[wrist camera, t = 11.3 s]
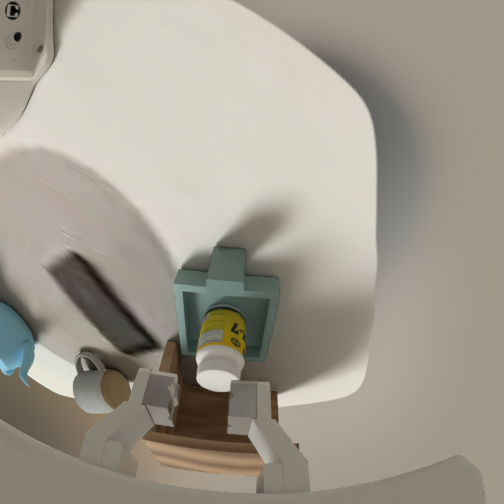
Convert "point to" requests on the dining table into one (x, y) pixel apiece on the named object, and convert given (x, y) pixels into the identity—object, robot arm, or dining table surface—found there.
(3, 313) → the teapot
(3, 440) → the robot arm
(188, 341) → the tray
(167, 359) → the open wooden box
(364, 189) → the dining table surface
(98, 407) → the ceramic mug
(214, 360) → the supplement bottle
